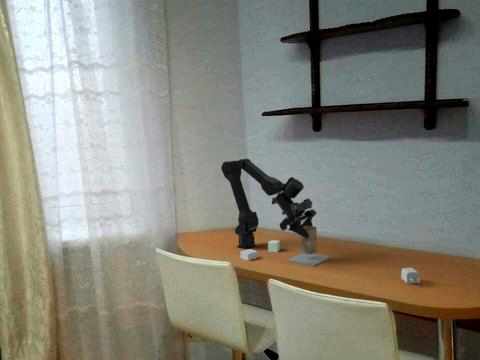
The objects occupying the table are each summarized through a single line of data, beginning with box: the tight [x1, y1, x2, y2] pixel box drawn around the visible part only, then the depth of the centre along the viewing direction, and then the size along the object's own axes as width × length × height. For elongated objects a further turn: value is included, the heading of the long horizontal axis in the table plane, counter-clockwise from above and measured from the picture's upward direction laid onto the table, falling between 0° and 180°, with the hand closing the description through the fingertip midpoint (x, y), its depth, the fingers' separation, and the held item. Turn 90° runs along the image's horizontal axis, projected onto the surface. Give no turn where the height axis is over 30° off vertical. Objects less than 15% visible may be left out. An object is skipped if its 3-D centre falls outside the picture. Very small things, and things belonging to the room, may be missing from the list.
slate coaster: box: [287, 252, 332, 267], centre depth 172 cm, size 12×12×1 cm
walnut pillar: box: [299, 226, 318, 255], centre depth 171 cm, size 4×4×10 cm
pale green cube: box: [267, 239, 281, 253], centre depth 187 cm, size 4×4×4 cm
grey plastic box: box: [240, 248, 259, 261], centre depth 178 cm, size 5×5×3 cm
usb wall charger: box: [401, 267, 421, 285], centre depth 143 cm, size 4×7×4 cm, turn 2°
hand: (311, 236), depth 170 cm, fingers closed on walnut pillar, 4 cm apart
